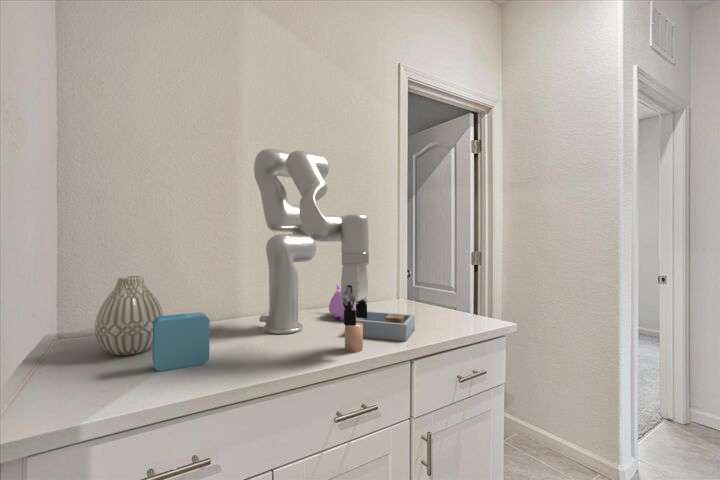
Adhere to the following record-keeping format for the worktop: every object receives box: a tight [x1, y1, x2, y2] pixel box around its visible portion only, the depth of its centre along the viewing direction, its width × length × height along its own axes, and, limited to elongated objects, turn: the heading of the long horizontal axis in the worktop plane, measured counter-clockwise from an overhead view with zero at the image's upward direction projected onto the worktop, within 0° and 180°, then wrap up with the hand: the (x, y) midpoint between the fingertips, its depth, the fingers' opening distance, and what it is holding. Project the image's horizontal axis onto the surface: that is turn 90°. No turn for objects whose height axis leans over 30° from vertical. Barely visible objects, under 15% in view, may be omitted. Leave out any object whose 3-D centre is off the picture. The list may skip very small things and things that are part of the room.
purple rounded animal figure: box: [328, 282, 358, 322], centre depth 145 cm, size 20×14×12 cm
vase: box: [94, 275, 164, 356], centre depth 101 cm, size 16×16×20 cm
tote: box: [356, 310, 416, 342], centre depth 123 cm, size 18×14×5 cm
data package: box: [152, 311, 211, 372], centre depth 91 cm, size 12×4×12 cm, turn 122°
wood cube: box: [385, 314, 404, 324], centre depth 121 cm, size 5×5×5 cm
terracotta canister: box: [344, 322, 364, 353], centre depth 105 cm, size 5×5×7 cm
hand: (356, 321), depth 104 cm, fingers open, 9 cm apart
